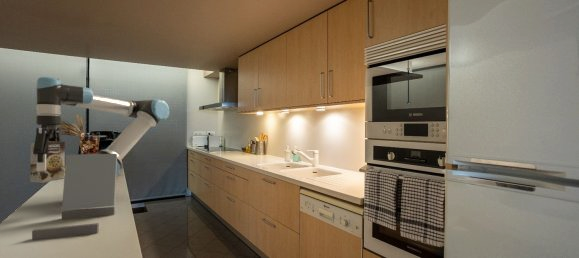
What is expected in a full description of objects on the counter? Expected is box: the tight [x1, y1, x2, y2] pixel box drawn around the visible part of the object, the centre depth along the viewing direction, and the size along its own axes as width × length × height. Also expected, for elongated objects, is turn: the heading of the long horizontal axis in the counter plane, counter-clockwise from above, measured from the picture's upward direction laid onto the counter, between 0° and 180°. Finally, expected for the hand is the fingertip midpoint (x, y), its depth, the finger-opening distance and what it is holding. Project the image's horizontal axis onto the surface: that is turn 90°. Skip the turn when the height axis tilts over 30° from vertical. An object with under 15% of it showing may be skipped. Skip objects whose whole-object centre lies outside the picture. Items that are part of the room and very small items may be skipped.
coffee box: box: [29, 140, 66, 184], centre depth 113 cm, size 9×6×16 cm
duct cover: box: [61, 153, 117, 211], centre depth 115 cm, size 22×18×1 cm
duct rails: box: [31, 206, 116, 241], centre depth 103 cm, size 23×18×3 cm
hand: (48, 168), depth 113 cm, fingers closed on coffee box, 10 cm apart
